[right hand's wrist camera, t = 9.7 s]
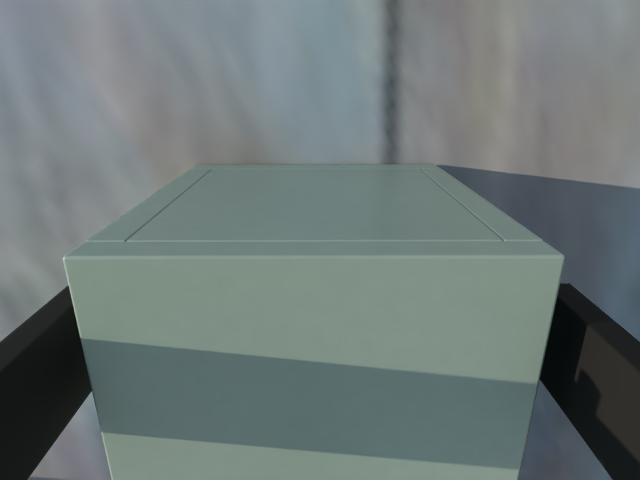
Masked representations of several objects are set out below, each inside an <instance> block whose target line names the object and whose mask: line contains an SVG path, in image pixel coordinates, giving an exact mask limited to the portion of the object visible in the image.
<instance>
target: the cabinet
mask: <svg viewBox="0 0 640 480" xmlns="http://www.w3.org/2000/svg"><path fill="white" fill-rule="evenodd" d="M63 262H64V266H65V271H66V275H67V280H68V284H69V289H70V293H71V298H72V302H73V307H74V311H75V316H76V320H77V325H78V329H79V334H80V338H81V343H82V347H83V352H84V356H85V361H86V365H87V370H88V374H89V379H90V383H91V388H92V392H93V397H94V401H95V406H96V410H97V415H98V419H99V424H100V428H101V433H102V437H103V442H104V446H105V451H106V455H107V460H108V464H109V469H110V473H111V478H112V480H518V478H519V473H520V468H521V464H522V459H523V454H524V450H525V445H526V440H527V435H528V431H529V426H530V421H531V417H532V412H533V407H534V403H535V398H536V393H537V389H538V384H539V379H540V374H541V370H542V365H543V360H544V356H545V351H546V346H547V342H548V337H549V332H550V328H551V323H552V318H553V313H554V309H555V304H556V299H557V295H558V290H559V285H560V281H561V276H562V271H563V267H564V262H565V256H564V255H563V254H562V253H560V252H559V251H558V250H556V249H555V248H553V247H552V246H550V245H549V244H548V243H546V242H544V241H543V239H541V238H540V237H538V236H537V235H535V234H534V233H533V232H531V231H530V230H528V229H527V228H525V227H524V226H523V225H521V224H520V223H518V222H517V221H515V220H514V219H513V218H511V217H510V216H508V215H507V214H505V213H504V212H503V211H501V210H500V209H498V208H497V207H495V206H494V205H493V204H491V203H490V202H488V201H487V200H485V199H484V198H483V197H481V196H480V195H478V194H477V193H475V192H474V191H473V190H471V189H470V188H468V187H467V186H465V185H464V184H463V183H461V182H460V181H458V180H457V179H455V178H454V177H453V176H451V175H450V174H448V173H447V172H445V171H444V170H443V169H441V168H439V167H438V166H437V165H435V164H252V165H196V166H194V167H193V168H191V169H189V170H188V171H186V172H185V173H183V174H182V175H181V176H179V177H178V178H176V179H175V180H173V181H172V182H170V183H169V184H167V185H166V186H165V187H163V188H162V189H160V190H159V191H157V192H156V193H154V194H153V195H151V196H150V197H148V198H147V199H146V200H144V201H143V202H141V203H140V204H138V205H137V206H135V207H134V208H132V209H131V210H130V211H128V212H127V213H125V214H124V215H122V216H121V217H119V218H118V219H116V220H115V221H114V222H112V223H111V224H109V225H108V226H106V227H105V228H103V229H102V230H100V231H99V232H98V233H96V234H95V235H93V236H92V237H90V238H89V239H87V240H86V242H84V243H82V244H81V245H79V246H78V247H76V248H75V249H74V250H72V251H71V252H69V253H68V254H66V255H65V256H64V257H63Z"/></svg>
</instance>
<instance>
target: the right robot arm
mask: <svg viewBox="0 0 640 480" xmlns="http://www.w3.org/2000/svg"><path fill="white" fill-rule="evenodd" d="M540 380H541V381H542V383H543V384H544V386H545V387H546V388H547V390H548V391H549V392H550V394H551V395H552V397H553V398H554V399H555V401H556V402H557V403H558V405H559V406H560V408H561V409H562V410H563V412H564V413H565V415H566V416H567V417H568V419H569V420H570V421H571V423H572V424H573V426H574V427H575V428H576V430H577V431H578V432H579V434H580V435H581V437H582V438H583V439H584V441H585V442H586V443H587V445H588V446H589V448H590V449H591V450H592V452H593V453H594V455H595V456H596V457H597V459H598V460H599V461H600V463H601V464H602V466H603V467H604V468H605V470H606V471H607V472H608V474H609V475H610V477H611V478H612V479H613V480H640V342H639V341H638V340H637V339H635V338H634V337H633V336H632V335H631V334H629V333H628V332H627V331H626V330H625V329H623V328H622V327H621V326H620V325H619V324H617V323H616V322H615V321H614V320H613V319H611V318H610V317H609V316H608V315H607V314H605V313H604V312H603V311H602V310H601V309H599V308H598V307H597V306H596V305H595V304H593V303H592V302H591V301H590V300H589V299H587V298H586V297H585V296H584V295H583V294H581V293H580V292H579V291H578V290H577V289H575V288H574V287H573V286H572V285H571V284H560V285H559V290H558V295H557V299H556V304H555V309H554V313H553V318H552V323H551V328H550V332H549V337H548V342H547V346H546V351H545V356H544V360H543V365H542V370H541V374H540ZM91 391H92V388H91V383H90V379H89V374H88V370H87V365H86V361H85V356H84V352H83V347H82V343H81V338H80V334H79V329H78V325H77V320H76V316H75V311H74V307H73V302H72V298H71V293H70V289H69V285H68V286H67V287H66V288H65V289H63V290H62V291H61V292H60V293H59V294H57V295H56V296H55V297H54V298H53V299H51V300H50V301H49V302H48V303H47V304H45V305H44V306H43V307H42V308H41V309H39V310H38V311H37V312H36V313H35V314H33V315H32V316H31V317H30V318H29V319H27V320H26V321H25V322H24V323H23V324H21V325H20V326H19V327H18V328H17V329H15V330H14V331H13V332H12V333H11V334H9V335H8V336H7V337H6V338H5V339H3V340H2V341H1V342H0V480H27V479H28V478H29V477H30V475H31V474H32V472H33V471H34V470H35V468H36V467H37V466H38V464H39V463H40V461H41V460H42V459H43V457H44V456H45V455H46V453H47V452H48V450H49V449H50V448H51V446H52V445H53V443H54V442H55V441H56V439H57V438H58V437H59V435H60V434H61V432H62V431H63V430H64V428H65V427H66V426H67V424H68V423H69V421H70V420H71V419H72V417H73V416H74V415H75V413H76V412H77V410H78V409H79V408H80V406H81V405H82V403H83V402H84V401H85V399H86V398H87V397H88V395H89V394H90V392H91Z"/></svg>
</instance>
